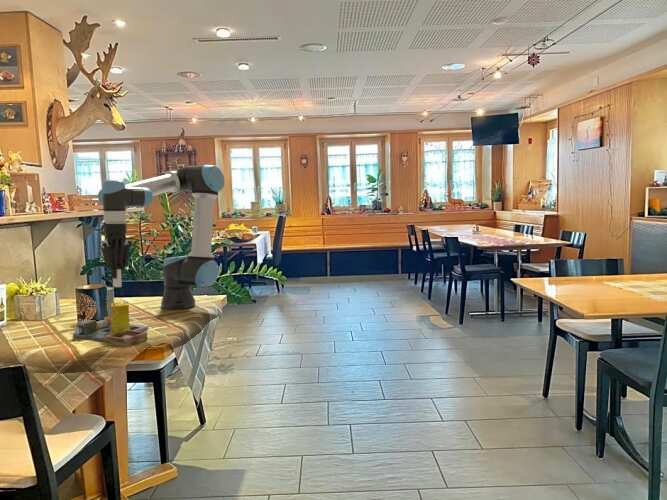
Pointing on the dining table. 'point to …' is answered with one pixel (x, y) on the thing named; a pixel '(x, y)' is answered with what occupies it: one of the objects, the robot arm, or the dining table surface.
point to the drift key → (102, 323)
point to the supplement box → (120, 316)
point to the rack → (126, 338)
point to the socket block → (100, 330)
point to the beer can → (110, 299)
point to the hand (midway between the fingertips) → (117, 286)
